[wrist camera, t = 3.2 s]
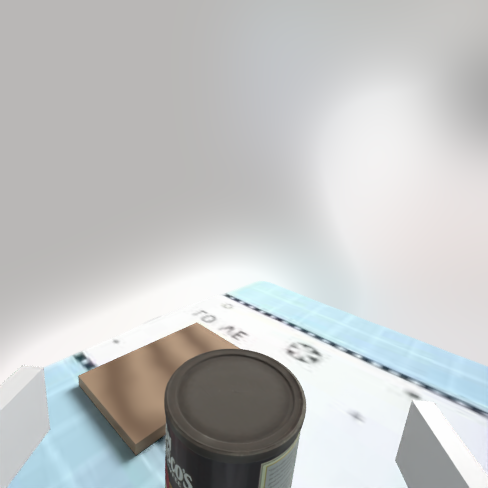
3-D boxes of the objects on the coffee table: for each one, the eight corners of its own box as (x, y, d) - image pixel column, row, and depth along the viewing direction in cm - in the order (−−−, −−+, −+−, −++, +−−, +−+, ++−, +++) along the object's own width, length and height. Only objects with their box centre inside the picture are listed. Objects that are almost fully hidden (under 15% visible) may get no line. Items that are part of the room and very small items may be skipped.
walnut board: (196, 330, 56) (196, 322, 55) (257, 368, 47) (258, 359, 47) (79, 385, 41) (78, 375, 41) (135, 455, 32) (135, 444, 32)
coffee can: (172, 636, 21) (175, 476, 17) (157, 484, 30) (157, 357, 26) (307, 574, 24) (336, 429, 20) (256, 455, 33) (270, 340, 29)
